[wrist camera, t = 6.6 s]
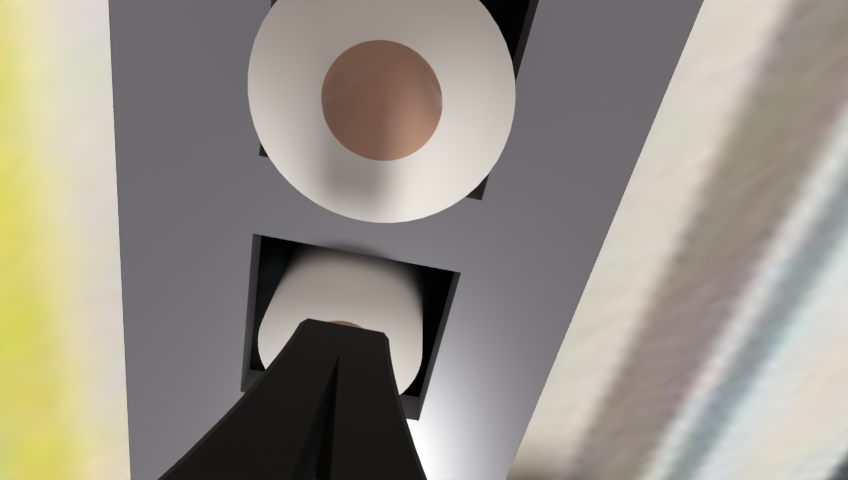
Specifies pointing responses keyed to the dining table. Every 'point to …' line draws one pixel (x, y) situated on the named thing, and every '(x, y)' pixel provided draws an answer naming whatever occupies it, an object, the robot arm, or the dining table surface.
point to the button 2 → (382, 102)
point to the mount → (403, 241)
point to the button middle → (349, 303)
